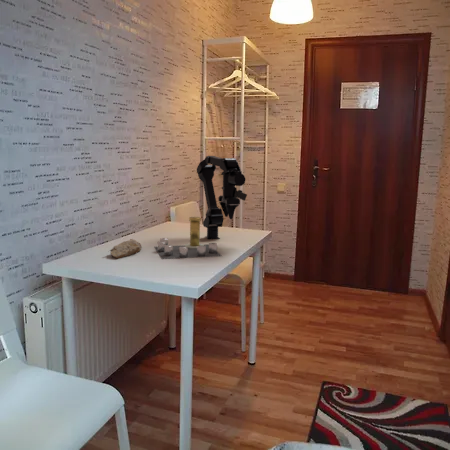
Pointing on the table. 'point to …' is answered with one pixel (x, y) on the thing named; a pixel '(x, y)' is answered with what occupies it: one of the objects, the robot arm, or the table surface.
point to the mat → (191, 253)
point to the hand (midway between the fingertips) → (228, 217)
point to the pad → (192, 246)
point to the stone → (125, 248)
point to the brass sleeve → (194, 231)
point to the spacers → (184, 249)
